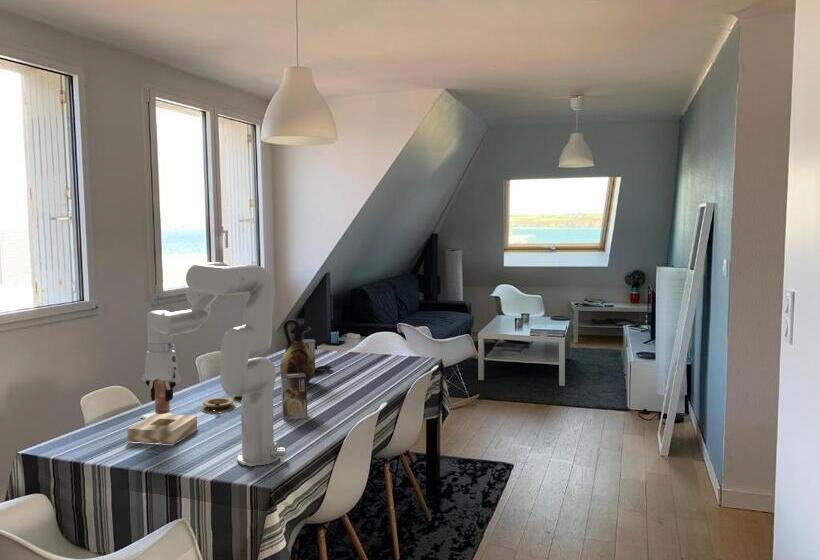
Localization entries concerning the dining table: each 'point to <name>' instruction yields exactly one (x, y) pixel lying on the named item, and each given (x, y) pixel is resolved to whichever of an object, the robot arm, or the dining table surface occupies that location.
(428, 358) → the dining table surface
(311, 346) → the milk frother
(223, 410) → the tableware set
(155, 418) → the socket block
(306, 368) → the ceramic jug
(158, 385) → the peg
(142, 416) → the external hard drive
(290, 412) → the coffee box
